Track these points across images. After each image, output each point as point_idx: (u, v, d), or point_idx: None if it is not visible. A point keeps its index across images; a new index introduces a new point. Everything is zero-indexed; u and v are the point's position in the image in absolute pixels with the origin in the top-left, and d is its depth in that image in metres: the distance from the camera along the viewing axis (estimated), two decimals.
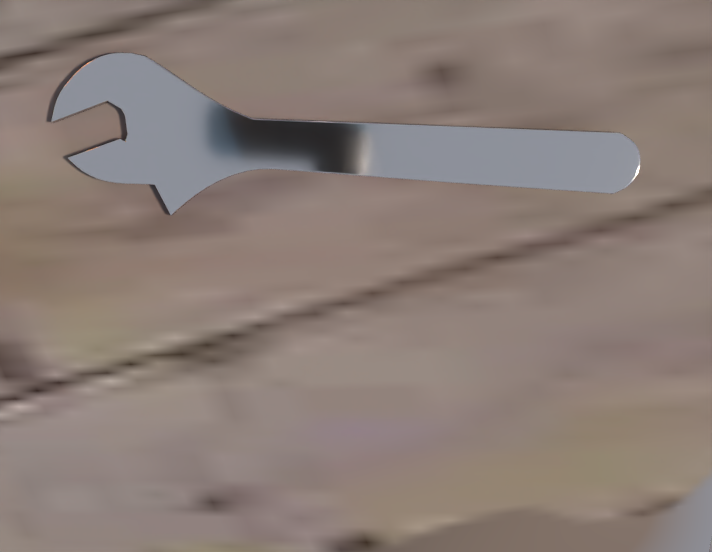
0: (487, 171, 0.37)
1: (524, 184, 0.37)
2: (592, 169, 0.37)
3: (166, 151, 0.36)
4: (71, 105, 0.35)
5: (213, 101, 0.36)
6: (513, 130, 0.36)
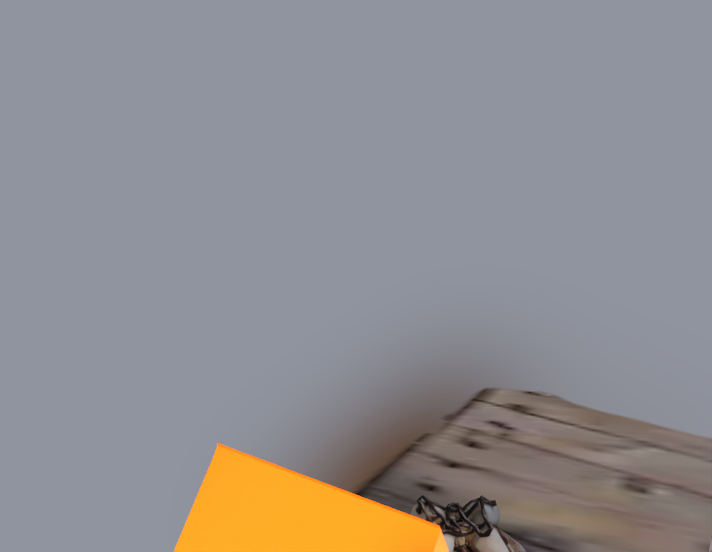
0: None
1: None
2: None
3: None
4: None
5: None
6: None
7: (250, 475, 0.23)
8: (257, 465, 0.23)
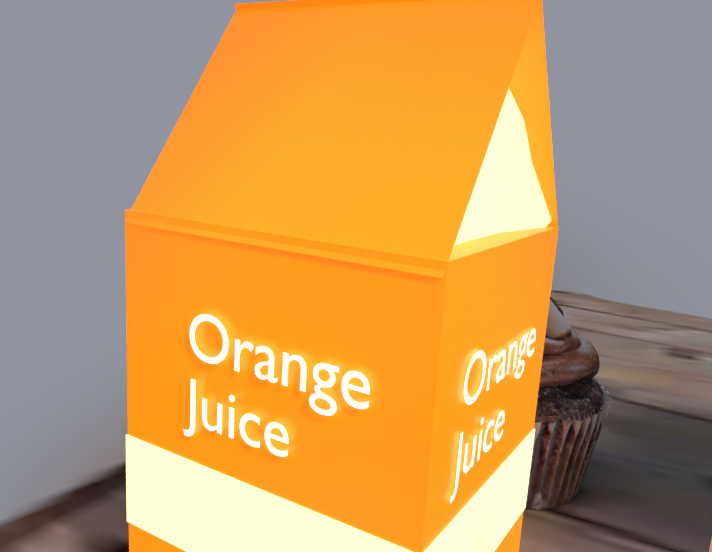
0: None
1: None
2: None
3: None
4: None
5: None
6: None
7: (278, 23, 0.18)
8: (287, 11, 0.18)
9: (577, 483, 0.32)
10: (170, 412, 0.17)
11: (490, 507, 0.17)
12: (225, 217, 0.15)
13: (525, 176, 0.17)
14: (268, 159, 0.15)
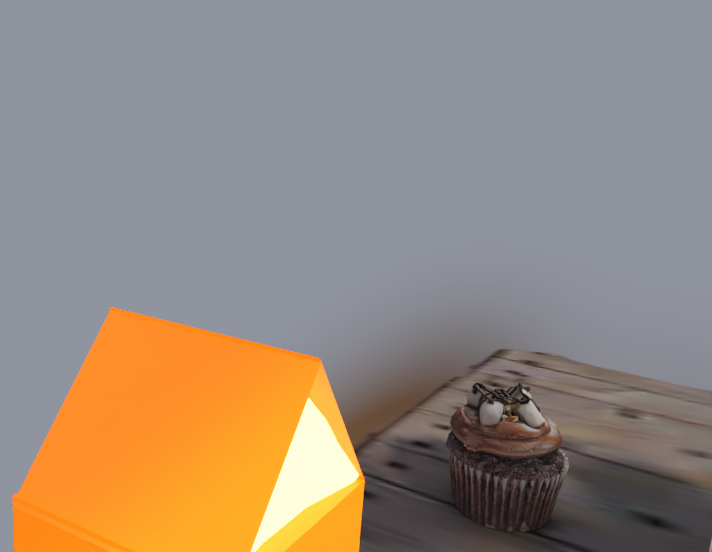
0: None
1: None
2: None
3: None
4: None
5: None
6: None
7: (140, 334, 0.22)
8: (148, 324, 0.22)
9: (547, 515, 0.53)
10: None
11: None
12: (87, 519, 0.20)
13: (331, 455, 0.22)
14: (122, 469, 0.20)
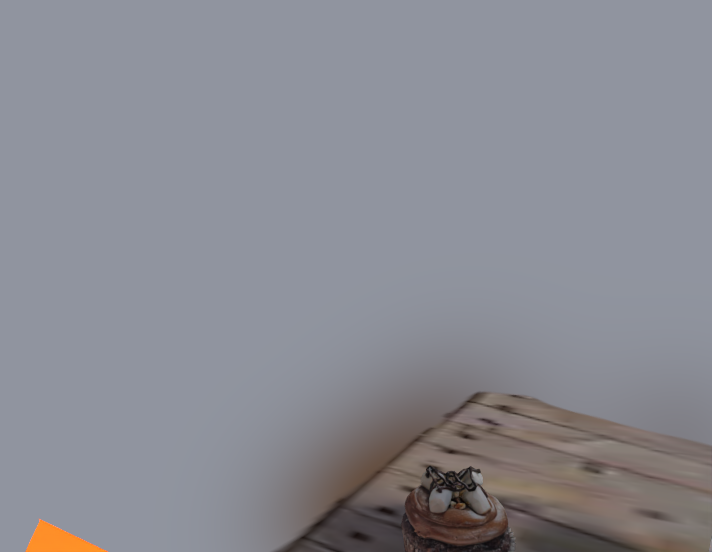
0: None
1: None
2: None
3: None
4: None
5: None
6: None
7: (63, 548, 0.26)
8: (69, 539, 0.26)
9: None
10: None
11: None
12: None
13: None
14: None
